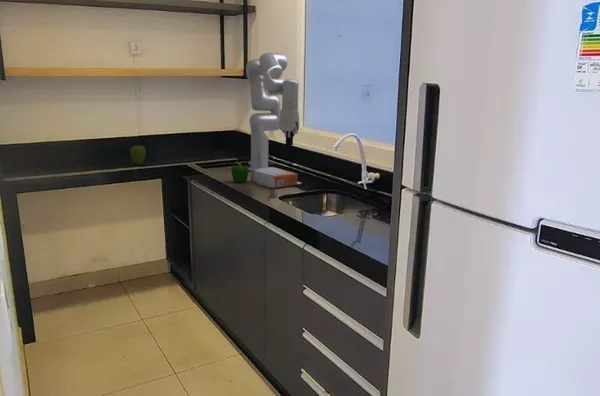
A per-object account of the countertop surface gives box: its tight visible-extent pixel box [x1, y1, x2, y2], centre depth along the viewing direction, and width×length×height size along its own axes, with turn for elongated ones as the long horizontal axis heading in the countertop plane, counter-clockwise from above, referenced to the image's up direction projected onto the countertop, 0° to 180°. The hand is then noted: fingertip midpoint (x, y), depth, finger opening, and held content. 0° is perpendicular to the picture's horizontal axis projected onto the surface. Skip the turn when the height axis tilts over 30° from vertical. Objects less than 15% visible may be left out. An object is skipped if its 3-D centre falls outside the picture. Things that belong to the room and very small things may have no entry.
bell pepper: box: [231, 161, 250, 184], centre depth 255 cm, size 8×8×10 cm
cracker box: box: [250, 166, 299, 189], centre depth 254 cm, size 14×6×21 cm
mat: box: [255, 181, 302, 189], centre depth 255 cm, size 14×18×1 cm
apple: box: [129, 144, 147, 165], centre depth 291 cm, size 9×8×12 cm
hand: (289, 145), depth 245 cm, fingers closed
